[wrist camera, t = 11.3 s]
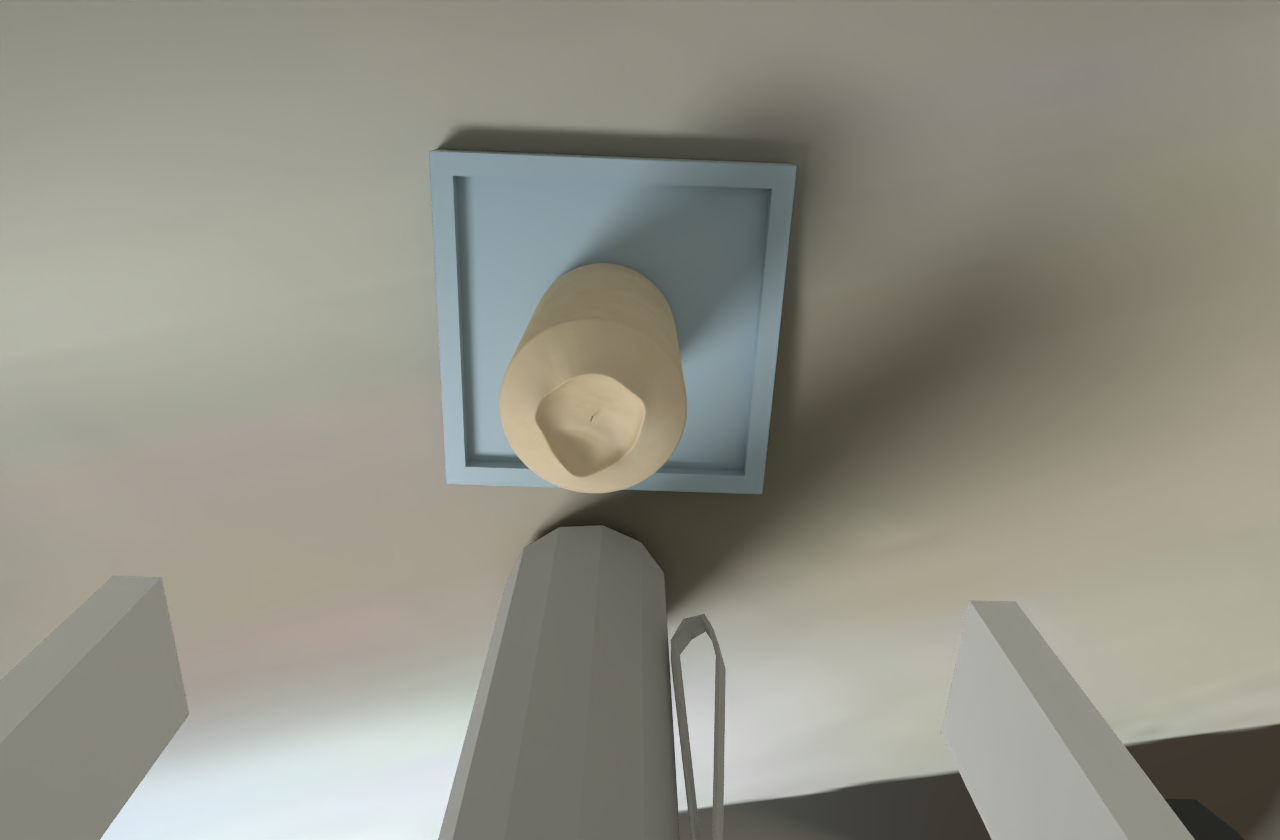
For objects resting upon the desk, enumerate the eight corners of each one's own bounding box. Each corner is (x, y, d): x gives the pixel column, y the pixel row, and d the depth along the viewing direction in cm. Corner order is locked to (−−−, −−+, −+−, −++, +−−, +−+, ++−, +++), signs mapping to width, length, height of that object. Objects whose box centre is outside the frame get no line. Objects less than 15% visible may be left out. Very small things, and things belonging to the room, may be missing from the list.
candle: (646, 416, 33) (649, 540, 24) (516, 372, 33) (467, 482, 23) (696, 289, 31) (720, 371, 22) (558, 240, 31) (524, 302, 21)
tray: (452, 471, 35) (446, 483, 34) (436, 148, 30) (429, 151, 29) (758, 481, 35) (762, 494, 34) (790, 163, 30) (796, 166, 29)
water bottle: (541, 674, 39) (402, 1540, 16) (479, 534, 36) (195, 1336, 13) (730, 623, 38) (879, 1468, 15) (680, 476, 35) (768, 1230, 12)
